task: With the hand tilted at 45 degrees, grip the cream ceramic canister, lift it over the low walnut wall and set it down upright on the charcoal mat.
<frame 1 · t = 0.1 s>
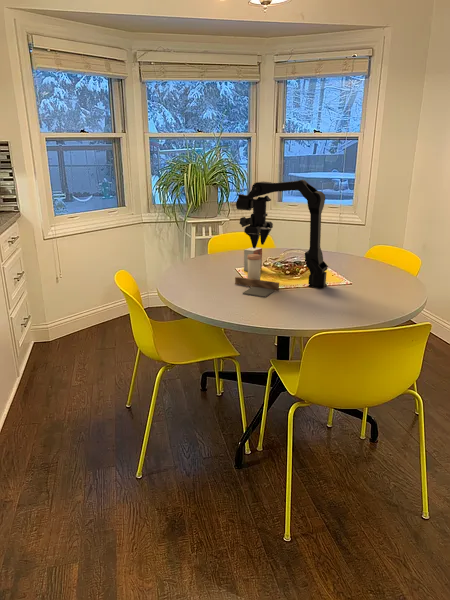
hand: (258, 246, 205), 15 cm above the table, tool pointing down, fingers open, 9 cm apart
small box: (252, 270, 223), on the table
mat: (258, 292, 189), on the table
wall: (256, 286, 196), on the table
canister: (253, 282, 203), on the table
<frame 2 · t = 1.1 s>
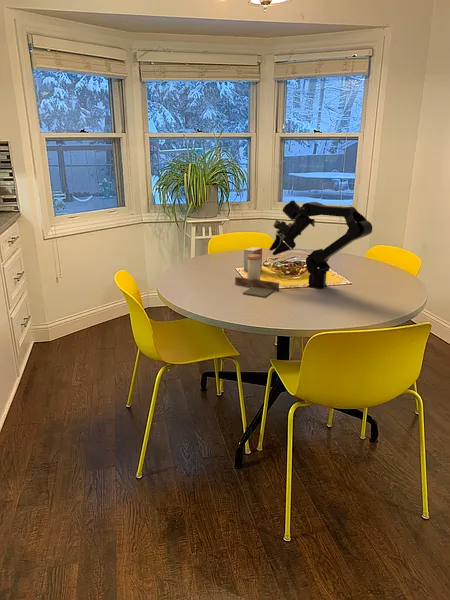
hand: (271, 252, 199), 13 cm above the table, tool tilted 45°, fingers open, 9 cm apart
nothing on the table moved.
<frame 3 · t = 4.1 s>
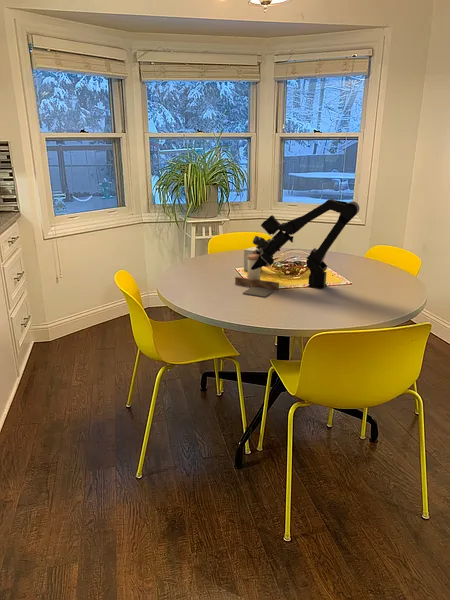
hand: (250, 267, 201), 7 cm above the table, tool tilted 45°, fingers closed on canister, 6 cm apart
canister: (253, 281, 203), on the table, touching gripper
everything else where it was.
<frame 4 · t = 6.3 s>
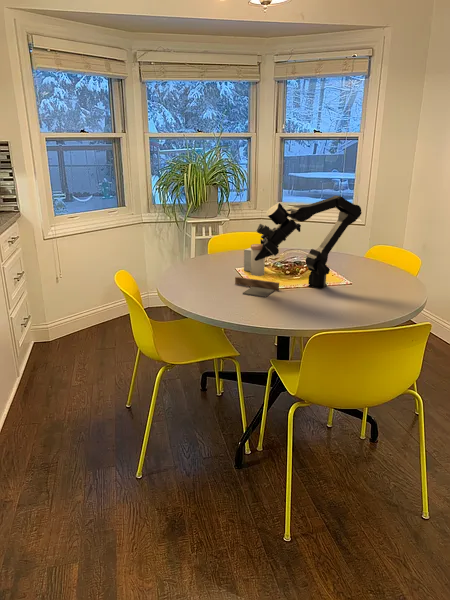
hand: (254, 258, 187), 14 cm above the table, tool tilted 45°, fingers closed on canister, 6 cm apart
canister: (257, 273, 189), point 7 cm above the table, touching gripper
everything else where it was.
when the fingers open (8 cm above the table, at t = 8.3 s): canister drops 1 cm, resting on mat.
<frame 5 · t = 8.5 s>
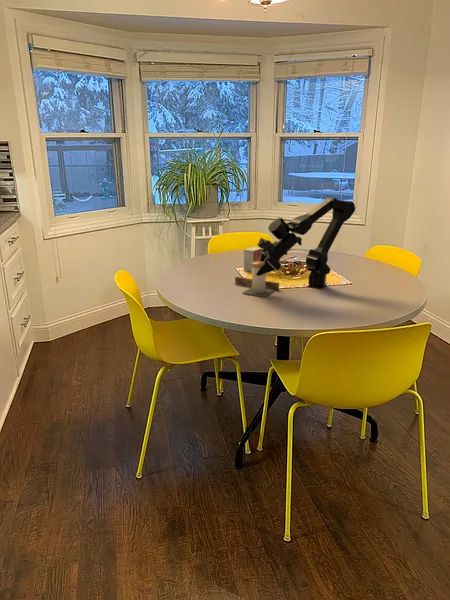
hand: (255, 272, 186), 9 cm above the table, tool tilted 45°, fingers open, 8 cm apart
canister: (258, 291, 188), point 1 cm above the table, touching mat
everything else where it was.
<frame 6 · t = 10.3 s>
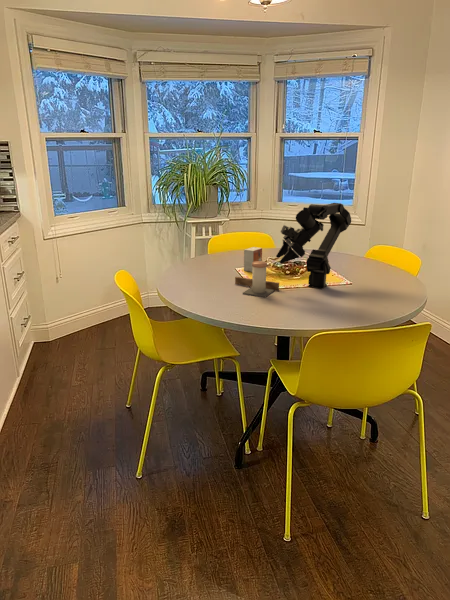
hand: (278, 259, 186), 13 cm above the table, tool tilted 45°, fingers open, 9 cm apart
nothing on the table moved.
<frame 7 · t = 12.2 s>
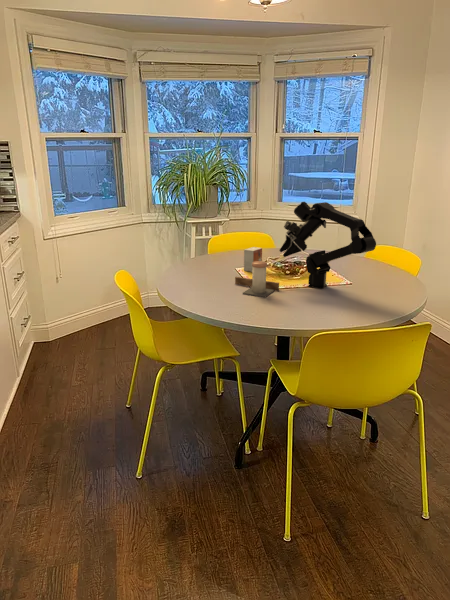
hand: (281, 253, 195), 14 cm above the table, tool tilted 45°, fingers open, 9 cm apart
nothing on the table moved.
at the end: canister 0.0 cm off-centre on the mat, point 0.5 cm above the mat's base; canister tilted 0°; the gripper is holding nothing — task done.
